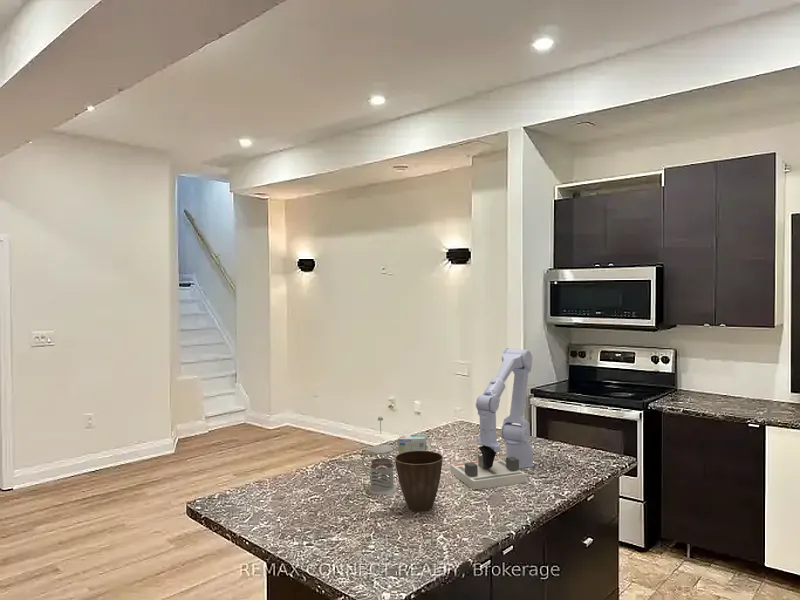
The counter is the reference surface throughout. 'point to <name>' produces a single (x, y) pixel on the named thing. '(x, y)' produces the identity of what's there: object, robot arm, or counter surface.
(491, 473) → the breaker panel
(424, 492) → the plant pot
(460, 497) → the counter surface
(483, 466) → the block
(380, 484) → the french press
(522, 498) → the counter surface
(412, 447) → the light bulb box
